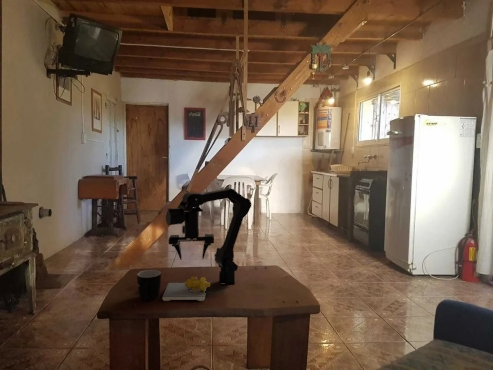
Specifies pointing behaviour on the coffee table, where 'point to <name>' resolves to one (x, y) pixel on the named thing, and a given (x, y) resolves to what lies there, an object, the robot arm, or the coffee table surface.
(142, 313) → the coffee table surface
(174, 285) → the stand
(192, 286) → the pressure relief valve
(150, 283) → the mug
